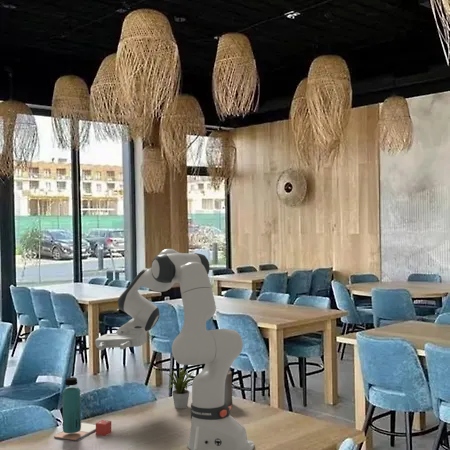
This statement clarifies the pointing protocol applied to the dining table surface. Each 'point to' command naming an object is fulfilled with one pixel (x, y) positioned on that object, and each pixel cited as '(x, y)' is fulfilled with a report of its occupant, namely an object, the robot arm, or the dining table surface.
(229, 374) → the pillar candle
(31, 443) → the dining table surface
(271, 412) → the dining table surface
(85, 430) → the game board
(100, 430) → the red die
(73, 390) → the beverage bottle
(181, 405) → the house plant
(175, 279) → the robot arm
